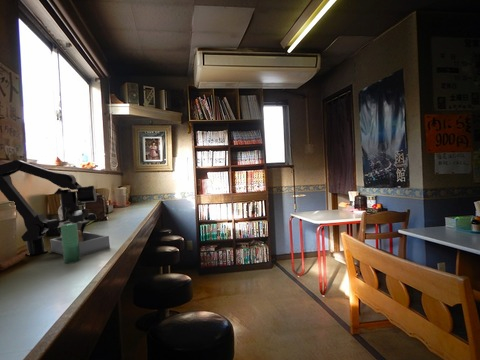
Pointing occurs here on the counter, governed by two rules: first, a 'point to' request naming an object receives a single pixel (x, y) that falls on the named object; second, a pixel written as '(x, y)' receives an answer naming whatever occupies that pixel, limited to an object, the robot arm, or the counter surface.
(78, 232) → the walnut block
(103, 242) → the grey tote
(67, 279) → the counter surface
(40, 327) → the counter surface
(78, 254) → the green tall cylinder
